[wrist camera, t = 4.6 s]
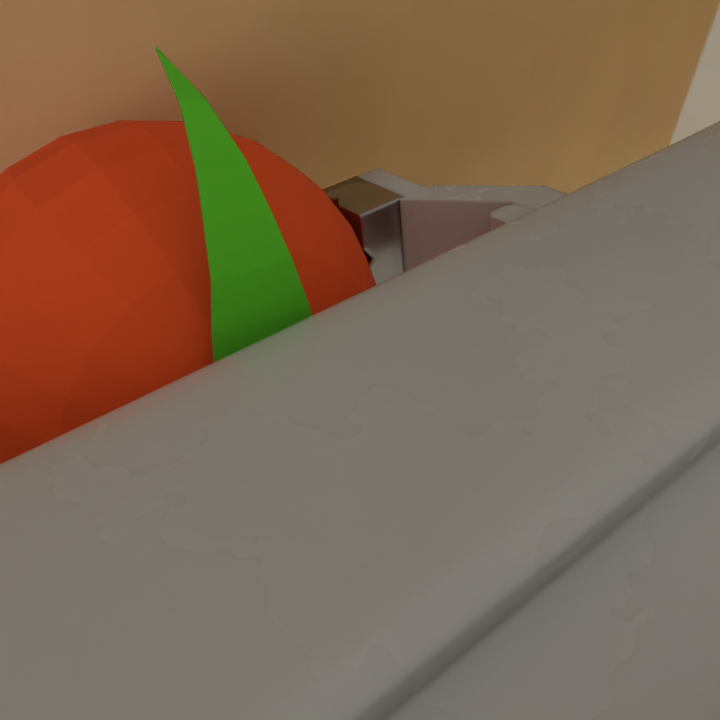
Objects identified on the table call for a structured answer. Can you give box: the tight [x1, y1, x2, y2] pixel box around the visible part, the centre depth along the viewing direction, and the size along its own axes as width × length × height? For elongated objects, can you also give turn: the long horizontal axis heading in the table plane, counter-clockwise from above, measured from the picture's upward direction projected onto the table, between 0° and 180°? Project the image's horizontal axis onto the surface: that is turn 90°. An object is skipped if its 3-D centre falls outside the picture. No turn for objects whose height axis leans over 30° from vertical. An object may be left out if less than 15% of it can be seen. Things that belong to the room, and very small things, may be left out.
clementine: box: [0, 47, 377, 464], centre depth 10 cm, size 8×7×7 cm
